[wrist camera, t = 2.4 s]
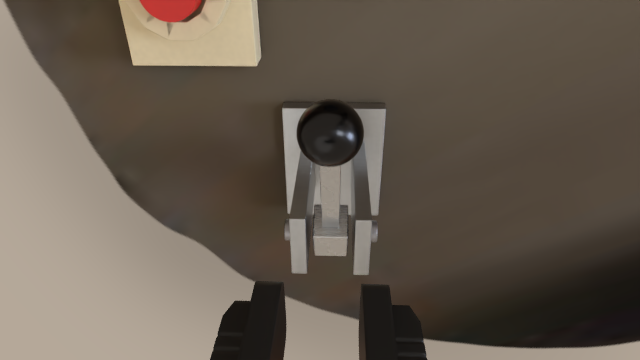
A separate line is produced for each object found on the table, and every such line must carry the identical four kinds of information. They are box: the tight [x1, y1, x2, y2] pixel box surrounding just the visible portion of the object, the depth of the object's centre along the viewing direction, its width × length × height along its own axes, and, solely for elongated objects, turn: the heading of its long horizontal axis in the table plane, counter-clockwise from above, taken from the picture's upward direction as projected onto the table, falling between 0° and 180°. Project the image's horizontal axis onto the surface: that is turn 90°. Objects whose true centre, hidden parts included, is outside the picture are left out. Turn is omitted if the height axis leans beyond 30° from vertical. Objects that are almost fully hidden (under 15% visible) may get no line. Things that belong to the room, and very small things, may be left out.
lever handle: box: [297, 99, 364, 256], centre depth 26 cm, size 13×3×3 cm, turn 1°
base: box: [282, 102, 386, 275], centre depth 33 cm, size 10×8×12 cm
